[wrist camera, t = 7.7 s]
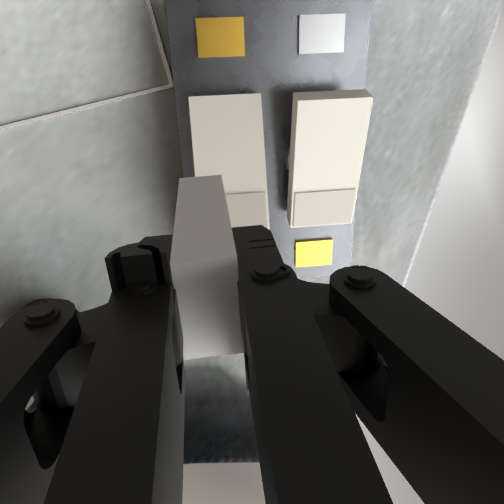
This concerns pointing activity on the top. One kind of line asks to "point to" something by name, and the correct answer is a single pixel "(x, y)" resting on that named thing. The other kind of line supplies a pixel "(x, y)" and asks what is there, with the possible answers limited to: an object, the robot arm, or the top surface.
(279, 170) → the switch unit
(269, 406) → the robot arm
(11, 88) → the top surface
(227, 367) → the top surface
